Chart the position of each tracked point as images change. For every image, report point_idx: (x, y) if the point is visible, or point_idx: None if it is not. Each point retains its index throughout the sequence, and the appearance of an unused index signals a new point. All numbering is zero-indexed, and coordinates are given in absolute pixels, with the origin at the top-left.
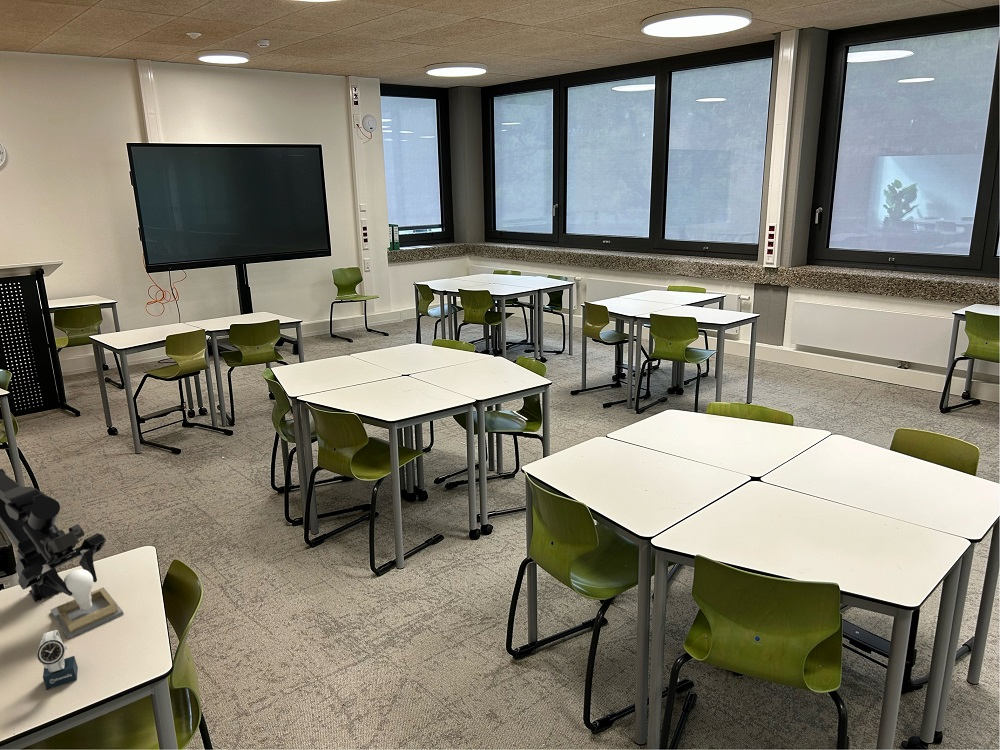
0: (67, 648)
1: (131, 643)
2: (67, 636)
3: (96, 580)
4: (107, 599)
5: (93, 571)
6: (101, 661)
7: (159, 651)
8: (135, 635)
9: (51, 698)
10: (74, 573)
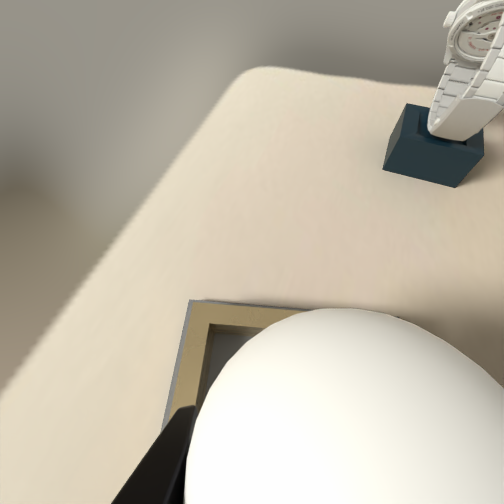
0: (444, 22)
1: (251, 158)
2: (398, 317)
3: (185, 406)
4: (193, 389)
5: (136, 492)
6: (329, 152)
7: (225, 102)
8: (228, 177)
9: None
10: (458, 445)
